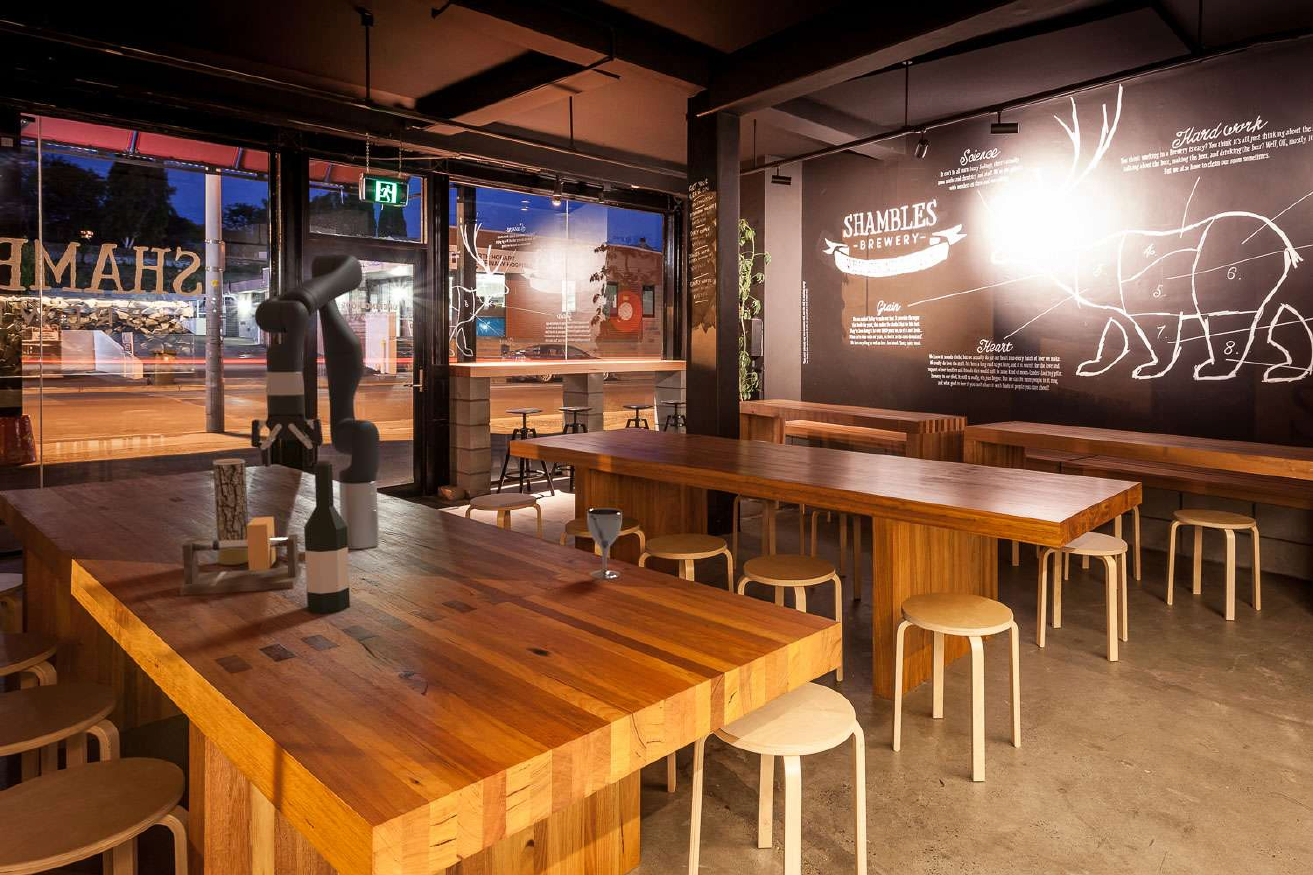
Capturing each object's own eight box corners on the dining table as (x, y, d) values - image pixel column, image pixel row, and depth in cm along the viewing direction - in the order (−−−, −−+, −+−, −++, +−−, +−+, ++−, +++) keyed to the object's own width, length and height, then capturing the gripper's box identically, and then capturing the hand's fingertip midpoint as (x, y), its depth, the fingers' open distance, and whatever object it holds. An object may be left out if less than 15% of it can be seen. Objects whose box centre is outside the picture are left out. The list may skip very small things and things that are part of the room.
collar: (275, 559, 187) (273, 516, 186) (269, 569, 179) (266, 524, 178) (256, 561, 186) (254, 517, 185) (248, 570, 178) (246, 525, 177)
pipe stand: (301, 573, 191) (299, 530, 189) (293, 588, 179) (291, 542, 178) (195, 579, 185) (193, 535, 184) (180, 595, 173) (177, 548, 172)
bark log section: (236, 567, 196) (231, 463, 193) (212, 565, 197) (206, 462, 194) (256, 559, 202) (251, 459, 199) (232, 558, 204) (226, 458, 201)
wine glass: (626, 571, 194) (627, 509, 192) (614, 580, 186) (614, 515, 185) (595, 568, 196) (595, 506, 195) (582, 577, 189) (581, 513, 187)
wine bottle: (314, 601, 170) (308, 457, 167) (355, 600, 171) (350, 457, 167) (300, 614, 162) (293, 463, 158) (343, 613, 162) (338, 463, 159)
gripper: (322, 391, 185) (325, 462, 187) (254, 392, 182) (257, 464, 184) (317, 393, 178) (320, 467, 180) (245, 393, 175) (249, 469, 177)
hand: (288, 465), depth 182 cm, fingers open, 8 cm apart
